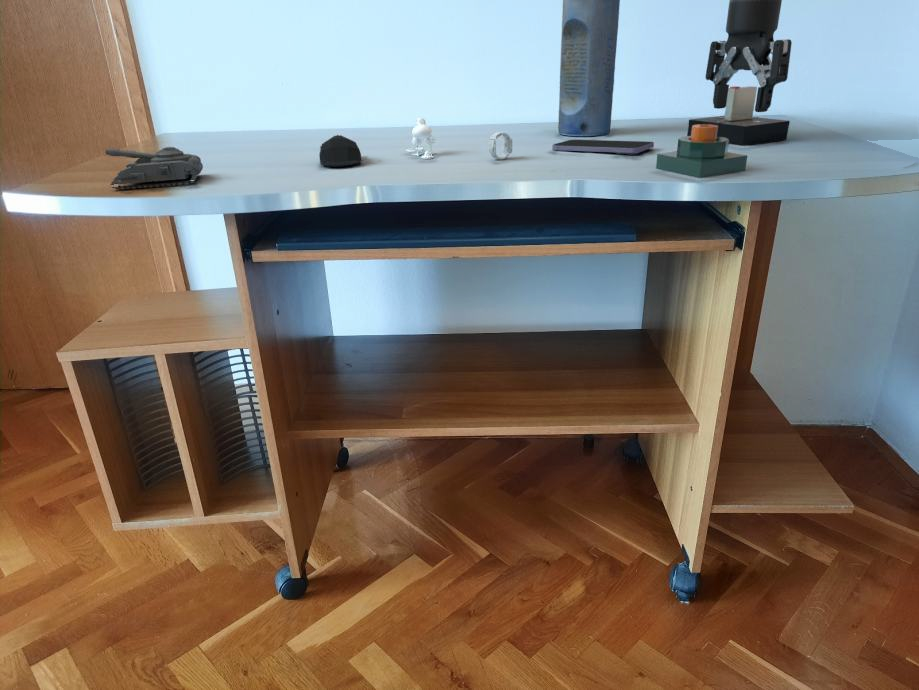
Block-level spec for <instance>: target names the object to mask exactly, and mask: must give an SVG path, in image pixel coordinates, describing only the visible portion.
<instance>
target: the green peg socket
mask: <svg viewBox="0 0 919 690" xmlns="http://www.w3.org/2000/svg"><path fill="white" fill-rule="evenodd" d="M677 139H678V140H677V148H676V151H668V152H662V153H657V154H656V164H655V169H656V170H660V171H666V172H670V173H674V174H679V175H683V176H687V177H692V178H697V179H703V178H709V177H715V176H721V175H727V174H734V173H739V172H745V171H746V169H747V168H746V167H747V163H748V162H747V161H748V155H747V154H740V153H735V152H729V150H728V149H729V145H730V144H729V139H727V138H725V137H718V136H717V139H716V141H693V140H691V136H687V135H686V136H681V137H679V138H677Z"/></svg>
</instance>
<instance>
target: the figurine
mask: <svg viewBox="0 0 919 690" xmlns="http://www.w3.org/2000/svg"><path fill="white" fill-rule="evenodd" d="M415 122H416V123H415V124H416V125H415V126H414V127H413V129H412V131H411V135H412V139H411V141H412V144H413V146H416V147H409V148H406V152H407V153H411V156H417V157H419V156H421V159H424V160H430V159H433V158H434V155H436V154H437V152H433V150H432V145H434V144H435V143H436V139H435V136H434V135H432V133H433V130H432V128H431V127H430V126H429V125H427V124H426V119H425V118H423V117H418V118H417V119H416V121H415ZM423 141H425V143H426V144H427V145H428V146H429V150H426V151H424V147H419V146H420V145H421V144H422V142H423ZM419 152H420V153H419ZM423 152H424V154H423Z"/></svg>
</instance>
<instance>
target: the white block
mask: <svg viewBox="0 0 919 690" xmlns="http://www.w3.org/2000/svg"><path fill="white" fill-rule="evenodd" d="M757 92H758V86H753V85H751V86H729V89H728V95H727V102H726V107H725V109H724V111H725V112H724V116H725V117H724V121H738V120H747V119H752V117H754V112H755V105H756V99H757Z"/></svg>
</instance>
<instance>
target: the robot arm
mask: <svg viewBox="0 0 919 690" xmlns="http://www.w3.org/2000/svg"><path fill="white" fill-rule="evenodd" d="M728 2H729V3H728V10H727V17H726V25H725V32H726V34H727V35H728V36H727V40H716V41H715V40H714V41H711V43H710V45H709V51H708V52H709V53H708V57H707V58H708V59H707V64H706V70H705V80H706V81H711V82H712V83H713V84H714V89H713V96H712V97H713V98H712V103H713V109H716V110H717V109H718V110H719V109H720V110H721V109H726V102H727V95H728V89H729V88H730V84H728V83H729V82H730V81H731V80H732V78H733V76H734V75H735V74H737V73H738V72H739V71H741V70H743V71H751V73H752V75H753V76H755V77H756V79H757V82H758V85H759V86H757V91H756V98H755V104H754V112H756V113H765V112H767V111H768V110H769V109H770V107H771V105H772V100H773V93H774V89H775V86H776V85H778V84H781V83H785V82H786V81H787V80H788V76H789V68H790V62H791V61H790V59H791V52H792V45H793V42H792V40H791V39H789V38H788V39H776V40H775V39H774V34H775V32H776V31H777V30H778V27H779V21H780V16H781V15H780V14H781V10H782V9H781V8H782V2H783V0H729V1H728ZM770 54H771V55H772V56H771V57H770Z"/></svg>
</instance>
